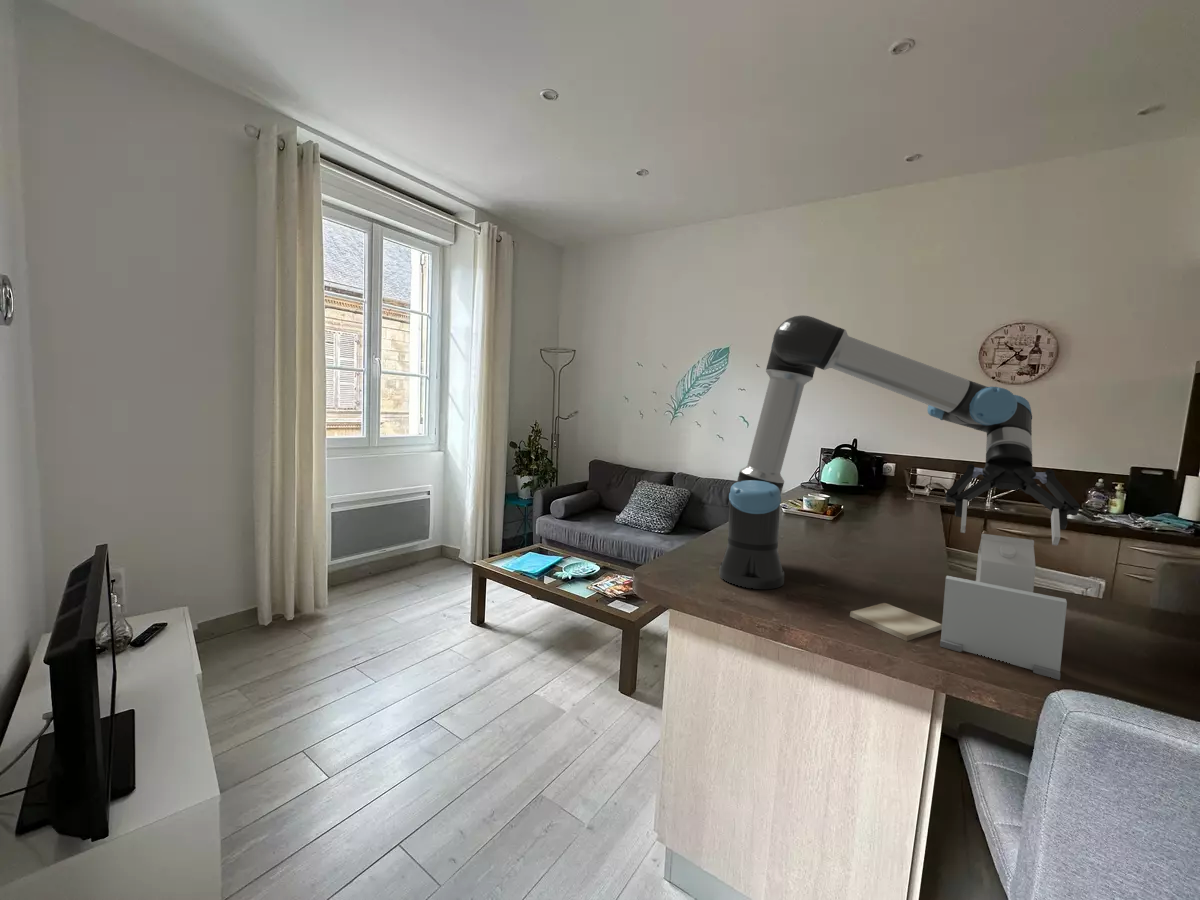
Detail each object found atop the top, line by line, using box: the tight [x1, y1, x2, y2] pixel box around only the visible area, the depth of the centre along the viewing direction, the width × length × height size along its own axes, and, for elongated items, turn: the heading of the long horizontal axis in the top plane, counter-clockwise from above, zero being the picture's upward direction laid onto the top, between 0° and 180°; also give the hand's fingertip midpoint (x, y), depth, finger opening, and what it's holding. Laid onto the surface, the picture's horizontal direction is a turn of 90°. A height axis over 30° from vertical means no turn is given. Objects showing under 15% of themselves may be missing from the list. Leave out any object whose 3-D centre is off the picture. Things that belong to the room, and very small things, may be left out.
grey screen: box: [939, 575, 1068, 681], centre depth 77 cm, size 15×4×12 cm, turn 48°
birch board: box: [849, 602, 942, 642], centre depth 90 cm, size 11×11×1 cm
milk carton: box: [975, 533, 1036, 593], centre depth 83 cm, size 7×7×19 cm
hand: (1007, 535), depth 90 cm, fingers open, 13 cm apart
